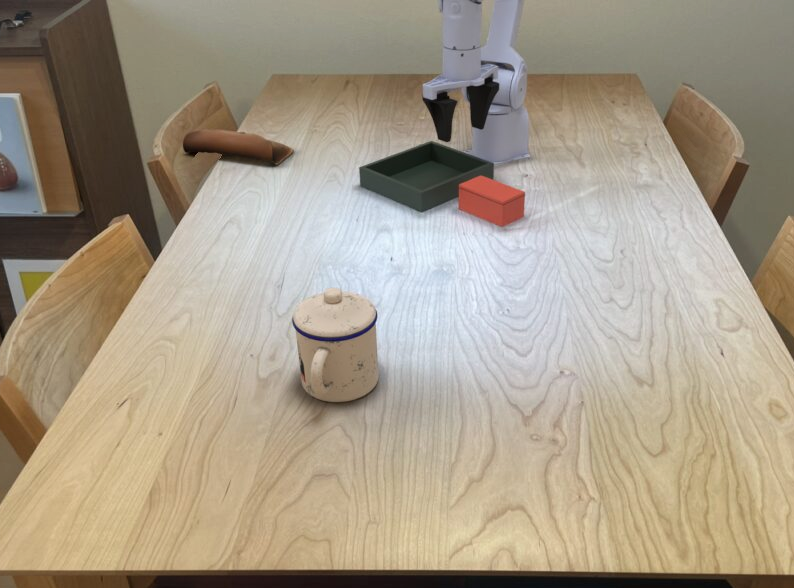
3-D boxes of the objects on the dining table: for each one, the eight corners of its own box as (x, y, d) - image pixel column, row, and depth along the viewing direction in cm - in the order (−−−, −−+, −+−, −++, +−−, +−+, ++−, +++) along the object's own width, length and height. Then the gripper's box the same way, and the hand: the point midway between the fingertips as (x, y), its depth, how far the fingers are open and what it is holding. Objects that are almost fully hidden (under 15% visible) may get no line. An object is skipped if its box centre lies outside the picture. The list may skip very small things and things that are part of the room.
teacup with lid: (315, 353, 103) (305, 266, 97) (389, 362, 102) (385, 274, 95) (278, 416, 94) (265, 323, 87) (360, 426, 92) (353, 333, 86)
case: (480, 201, 139) (480, 175, 136) (524, 219, 134) (525, 191, 131) (458, 211, 136) (458, 184, 133) (502, 229, 131) (503, 201, 128)
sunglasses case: (296, 147, 156) (284, 122, 151) (283, 179, 154) (270, 155, 148) (208, 136, 161) (192, 111, 155) (193, 167, 158) (177, 143, 153)
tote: (431, 161, 153) (431, 140, 151) (493, 184, 144) (494, 163, 142) (360, 188, 143) (358, 167, 141) (422, 215, 135) (421, 192, 133)
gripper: (446, 60, 123) (447, 153, 131) (514, 40, 132) (510, 128, 139) (411, 50, 127) (414, 141, 135) (479, 32, 136) (478, 117, 143)
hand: (461, 134), depth 137 cm, fingers open, 7 cm apart
